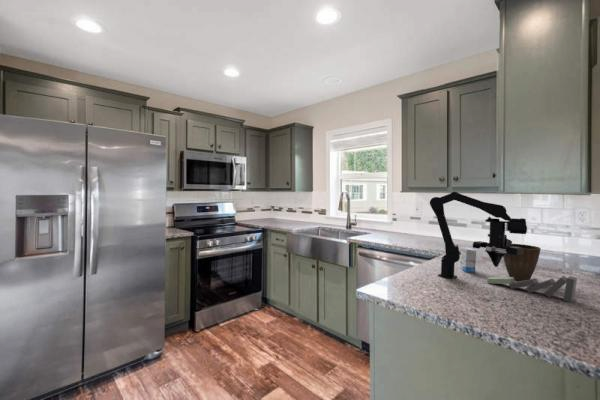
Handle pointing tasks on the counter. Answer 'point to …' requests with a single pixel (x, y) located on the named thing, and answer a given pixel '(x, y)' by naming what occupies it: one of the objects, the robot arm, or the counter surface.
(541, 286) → the domino
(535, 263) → the plant pot
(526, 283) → the domino
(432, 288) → the counter surface
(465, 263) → the ink box
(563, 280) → the domino
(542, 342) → the counter surface
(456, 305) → the counter surface
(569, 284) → the domino end
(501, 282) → the sage domino
